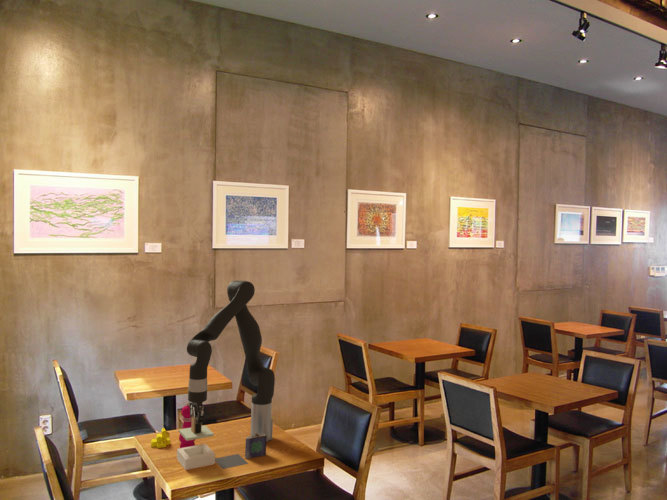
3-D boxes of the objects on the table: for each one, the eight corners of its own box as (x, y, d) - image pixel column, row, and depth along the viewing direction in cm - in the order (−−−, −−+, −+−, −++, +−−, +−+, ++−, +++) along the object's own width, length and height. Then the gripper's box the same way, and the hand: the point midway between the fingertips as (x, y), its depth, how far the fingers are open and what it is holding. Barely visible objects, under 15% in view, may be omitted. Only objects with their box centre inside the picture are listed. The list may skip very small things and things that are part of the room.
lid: (205, 427, 217) (205, 411, 217) (213, 436, 208) (214, 418, 208) (178, 431, 211) (179, 414, 211) (186, 440, 202) (187, 423, 202)
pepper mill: (191, 451, 220) (192, 405, 220) (175, 449, 221) (176, 403, 221) (198, 445, 227) (200, 400, 227) (183, 443, 228) (185, 398, 228)
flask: (246, 460, 213) (247, 434, 213) (243, 457, 216) (244, 432, 216) (266, 456, 218) (267, 431, 218) (264, 453, 220) (264, 428, 220)
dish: (205, 454, 218) (205, 443, 218) (214, 464, 208) (215, 453, 208) (176, 459, 211) (177, 448, 211) (185, 471, 201) (185, 459, 201)
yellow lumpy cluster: (150, 444, 227) (150, 426, 227) (169, 441, 230) (169, 424, 230) (151, 449, 222) (152, 431, 222) (171, 446, 225) (171, 428, 225)
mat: (238, 454, 218) (238, 453, 218) (248, 464, 209) (248, 463, 209) (213, 459, 212) (213, 458, 212) (222, 470, 203) (222, 469, 203)
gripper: (212, 392, 205) (211, 435, 205) (201, 383, 217) (200, 424, 217) (194, 394, 201) (192, 438, 201) (183, 385, 213) (182, 427, 213)
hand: (196, 430), depth 209 cm, fingers closed on lid, 3 cm apart
